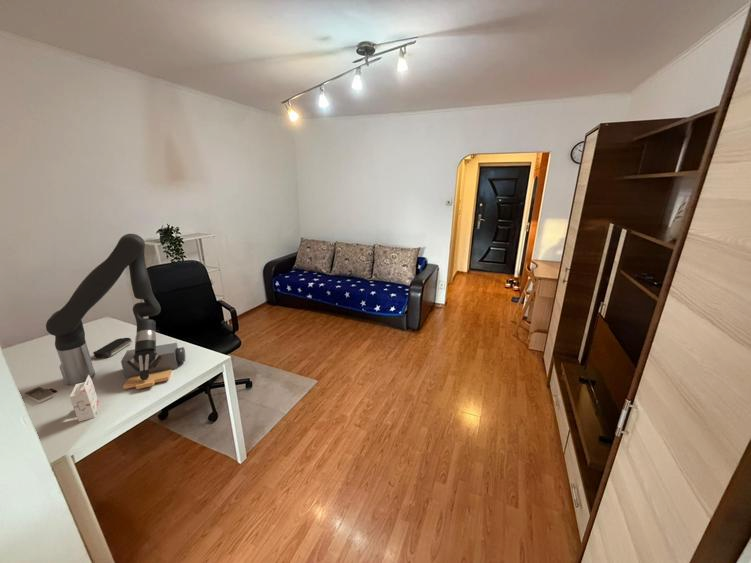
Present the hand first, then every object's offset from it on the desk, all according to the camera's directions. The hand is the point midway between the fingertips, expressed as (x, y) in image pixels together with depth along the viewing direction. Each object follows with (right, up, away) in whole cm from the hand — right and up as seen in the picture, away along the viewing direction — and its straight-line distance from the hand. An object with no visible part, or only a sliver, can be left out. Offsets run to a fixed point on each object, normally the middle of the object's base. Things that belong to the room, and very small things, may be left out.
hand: (144, 379), depth 128 cm
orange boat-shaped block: (-4, -1, +9) cm, 10 cm away
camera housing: (-5, 0, +15) cm, 16 cm away
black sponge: (-39, +6, +29) cm, 49 cm away
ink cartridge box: (-12, -9, -13) cm, 20 cm away
